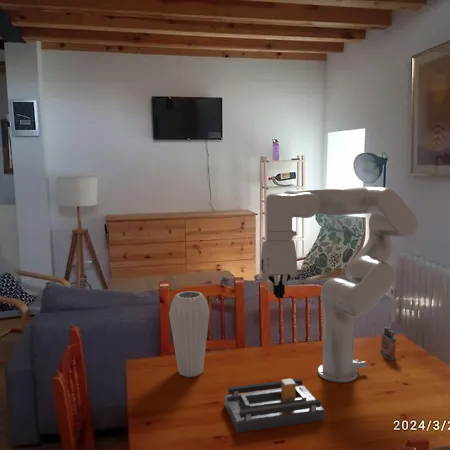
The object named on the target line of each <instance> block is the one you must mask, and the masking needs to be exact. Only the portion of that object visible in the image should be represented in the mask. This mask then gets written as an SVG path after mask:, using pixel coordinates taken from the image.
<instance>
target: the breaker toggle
mask: <svg viewBox="0 0 450 450" xmlns="http://www.w3.org/2000/svg"><path fill="white" fill-rule="evenodd" d="M292 379H293V378H286V379H285V378H284V379H281V380H280V381H281V398H282V399H283V400H286V399H294V398H295V395H296V383H295V382H294V381H293V380H292Z"/></svg>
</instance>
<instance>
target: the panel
mask: <svg viewBox="0 0 450 450" xmlns="http://www.w3.org/2000/svg"><path fill="white" fill-rule="evenodd" d="M310 400H317V399H316V398H315V397H314V395H312V394H311V392H310V391H309V390H308V389H307V388H306V387H305V385H303V384H302V385H299V386H296V395H295V398H294V399H286V400H283V399H282V398H281V388H276V389H268V390H260V391H252V392H244V393H238V397H234V396H233V394H226V395H224V407H225V409H226V411H227V413H228V416H229V417H230V420H231V421H232V424H233V426H234V429H235V431H236V433H237V434H238V433H243V432H245V433H246V432H252V431H258V430H265V429H271V428H278V427H285V426H292V425H298V424H299V425H300V424H305V423H306V424H307V423H313V422H319V421H325V409H324V407H323V406H322V405H321V407H316V411H313V412H312V411H311V410H310V409H301V410H294V411H287V412H280V413H273V414H266V415H259V416H251V420H249V421H246V419H245V417H244V418H241V417H240V415H239V410H243V409H251V408H258V407H266V406H273V405H280V404H288V403H295V402H302V401H310Z"/></svg>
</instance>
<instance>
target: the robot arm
mask: <svg viewBox="0 0 450 450" xmlns="http://www.w3.org/2000/svg"><path fill="white" fill-rule="evenodd" d="M317 214H320V215H326V216H340V217H341V216H350V215H352V216H353V215H362V214H363V215H364V214H365V215H366V214H371V215H370V217H369V220H368V230H369V232H368V233H369V234H368V235H369V236H368V240H367V242H366V243H365V245H364V246H363V247H362V248H361V249H360V250H359V252H358V253H357V254H356V255H355V256H354V257H353V258H352V259H351V260H350V261H349V263H348V264H347V265H346V267H345V271H344V275H345V277H346V279H343V278H339V277H332V278H329V279H327V280H326V281H325V282H324V283H323V285H322V286H321V288H320V289H321V290H320V300H321V306H322V313H323V324H322V325H323V326H322V332H323V333H322V364H321V365H319V366H318V367H317V374H318V375H319V377H321V379H324V380H326V381H330V382H333V383H350V382H353V381H355V380H356V379H357V378H358V375H359V374H358V370H359V368H360V369H361V368H367V367H368V364H367V361H366V360H365V361H364V360H363V361H360V360H359V359H358V358H357V359H354V340H355V339H354V336H355V335H354V334H355V321H354V320H355V319H354V317H356V318H358V317H364V316H366V315H367V314H368V313H370V312H371V311H372V309H373V308H375V306H376V305H378V303H379V302H380V300H382V299H383V297H384V296H385V295H386V294H387V293H388V291H389V290H390V289H391V287H392V286H393V284H394V280H395V270H394V268H393V267H392V265H391V264H390V263H389V262H387V261H388V260H389V259H390V257H391V255H392V241H391V237H395V238H400V239H408V238H411V237H413V236H414V235H415V234H416V233H417V231H418V228H419V221H418V218H417V216H416V214H415V213H414V211H413V210H412V209H411V208H410V206H408V204H407V203H406V202H405V200H403V198H402V197H401V196H400V195H399V194H398V193H396V191H394V190H393V189H392V188H390V187H377V186H376V187H375V186H358V187H334V188H333V187H331V188H324V189H323V188H322V189H300V190H298V189H295V190H287V191H285V192H283V193H281V192H278V193H269V194H268V195H267V196H266V198H265V234H266V235H265V239H264V240H263V241H262V245H261V254H260V264H259V265H260V267H259V268H260V271H261V275H260V278H262V279H263V280H266V281H267V280H268V281H270V282H271V283H272V284H273V285H272V288H273V289H272V290H273V296H274V297H275V298H277V299H278V300H279V299H284V296H285V293H286V291H285V290H286V289H285V288H286V286H285V285H286V284H287V283H288V282H289V280H290V279H292V278H295V277H297V276H298V275H297V274H298V273H297V271H298V270H297V269H298V260H297V249H296V244H295V240H294V239H293V238H294V237H295V236H296V237H297V235H298V233H297V231H295V230H293V218H301V219H309V218H312V217H314V216H316V215H317ZM278 276H279V277H278Z"/></svg>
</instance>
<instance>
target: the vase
mask: <svg viewBox="0 0 450 450" xmlns="http://www.w3.org/2000/svg"><path fill="white" fill-rule="evenodd" d="M209 307H210V306H209V303H208V301H207V299H206V297H205V296H204V294H203V293H202V292H200V291H193V290H191V291H189V290H188V291H181V292H177V293H176V294H174V297H173V298H172V301H171V303H170V307H169V312H168V316H169V321H170V328H171V333H172V334H171V335H172V340H173V346H174V352H175V360H176V366H177V370H178V374H179V375H181V376H184V377H187V378H189V377H190V378H192V377H196V376H200V375H202V373H203V371H204V365H205V356H206V348H207V340H208V339H207V338H208V332H209V331H208V330H209V322H210V321H209V320H210V311H211V310H210V308H209Z"/></svg>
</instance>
